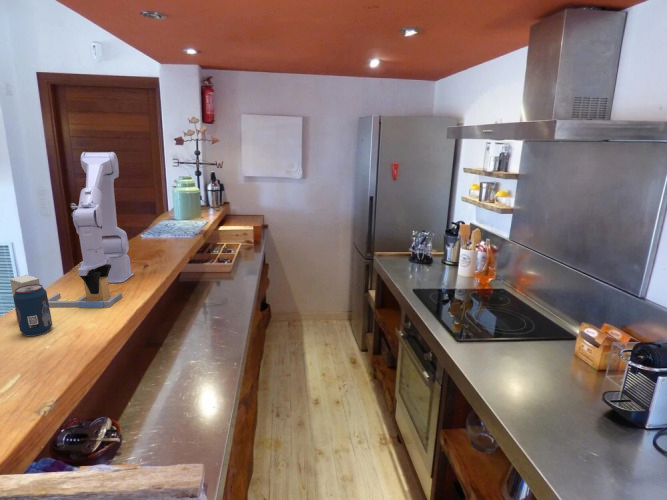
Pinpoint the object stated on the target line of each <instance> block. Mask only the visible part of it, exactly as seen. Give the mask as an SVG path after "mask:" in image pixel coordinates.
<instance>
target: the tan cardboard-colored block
mask: <svg viewBox="0 0 667 500" xmlns="http://www.w3.org/2000/svg"><path fill="white" fill-rule="evenodd" d="M83 285H84V292H85V295H86V299H87V301H107V300H109V299H110V297H111V294H110V293H111V291H110V287H109V283H108V278H107V277H100V278H99V293H98V294H91V293H90V291H89V289H88V287H87V285H86V283H85V282H84V281H83Z"/></svg>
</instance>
